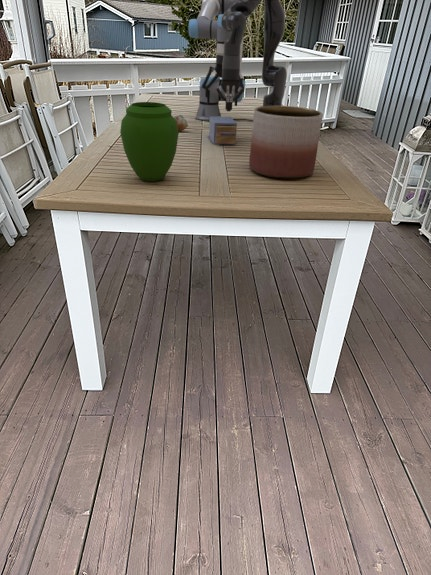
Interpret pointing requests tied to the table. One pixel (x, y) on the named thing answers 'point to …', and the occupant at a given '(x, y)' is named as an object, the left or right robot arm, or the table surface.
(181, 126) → the seashell
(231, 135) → the drawer
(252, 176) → the table surface
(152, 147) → the vase
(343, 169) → the table surface
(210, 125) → the cabinet
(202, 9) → the left robot arm
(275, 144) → the planter
